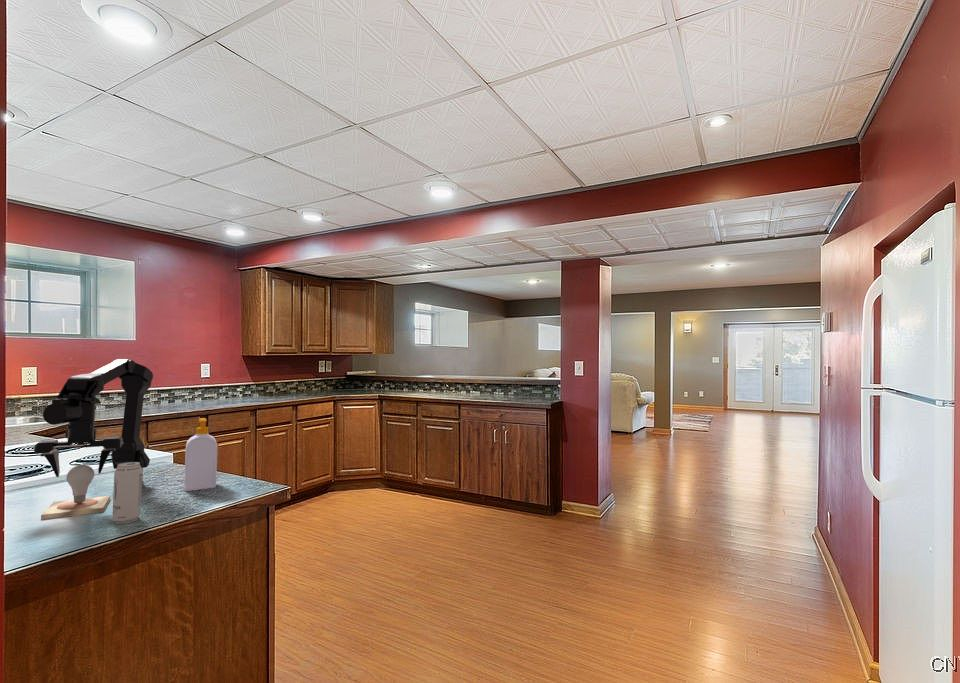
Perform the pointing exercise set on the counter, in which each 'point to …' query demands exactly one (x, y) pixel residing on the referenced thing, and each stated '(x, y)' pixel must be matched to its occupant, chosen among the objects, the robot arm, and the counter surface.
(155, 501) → the counter surface
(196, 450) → the soap bottle
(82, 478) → the lightbulb
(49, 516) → the birch board
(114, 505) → the energy drink can
